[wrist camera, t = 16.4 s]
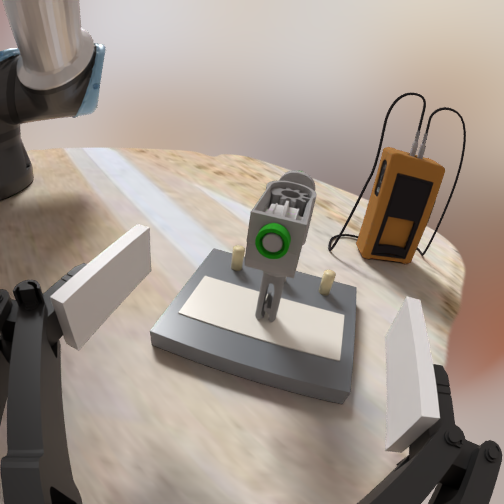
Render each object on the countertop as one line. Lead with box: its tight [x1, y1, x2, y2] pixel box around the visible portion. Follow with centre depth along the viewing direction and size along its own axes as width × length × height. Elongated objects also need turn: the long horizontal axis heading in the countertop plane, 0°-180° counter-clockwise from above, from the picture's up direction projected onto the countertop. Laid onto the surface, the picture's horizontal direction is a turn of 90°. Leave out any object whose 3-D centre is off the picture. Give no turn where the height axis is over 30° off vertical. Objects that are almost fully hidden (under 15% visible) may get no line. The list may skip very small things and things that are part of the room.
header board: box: [150, 246, 356, 404], centre depth 24 cm, size 14×12×4 cm
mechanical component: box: [245, 170, 316, 322], centre depth 21 cm, size 3×10×10 cm, turn 165°
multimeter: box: [328, 93, 466, 264], centre depth 35 cm, size 15×10×20 cm
